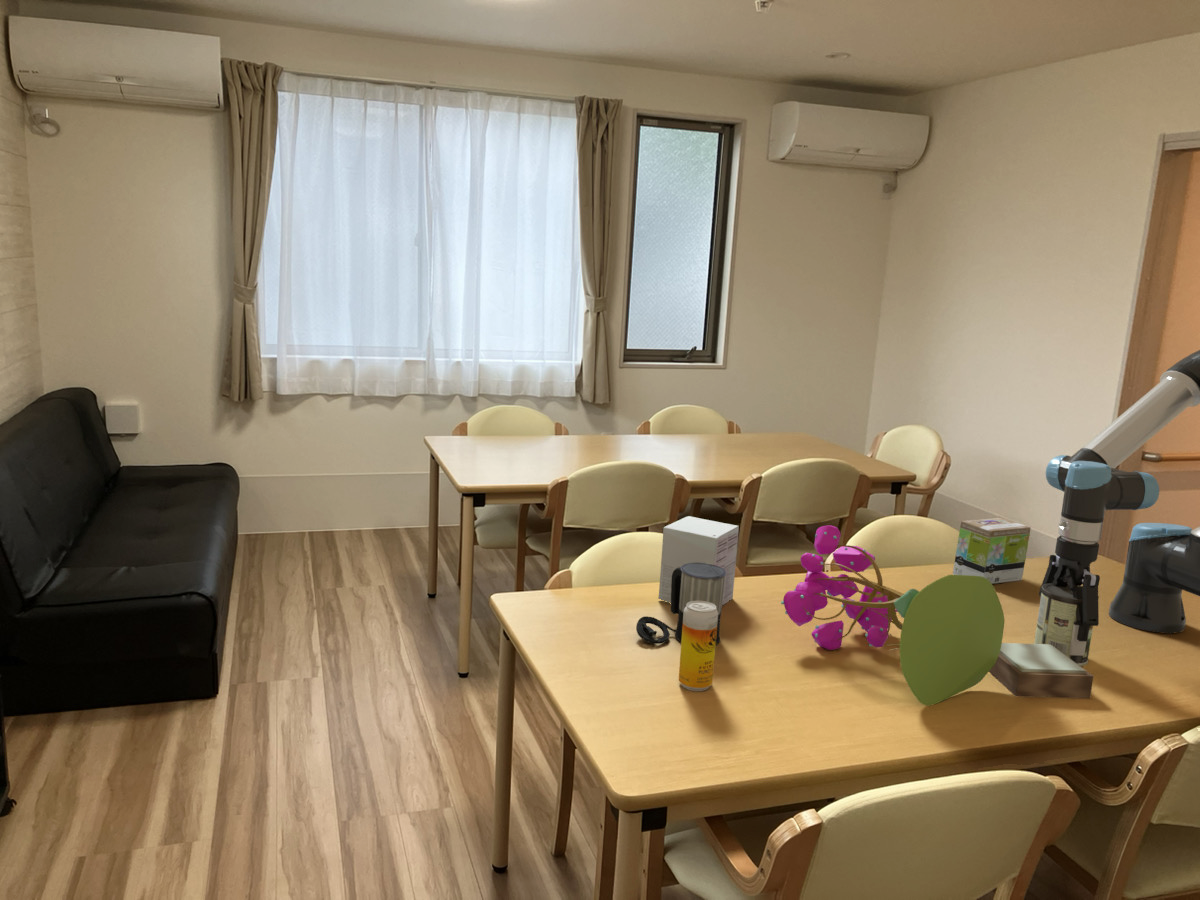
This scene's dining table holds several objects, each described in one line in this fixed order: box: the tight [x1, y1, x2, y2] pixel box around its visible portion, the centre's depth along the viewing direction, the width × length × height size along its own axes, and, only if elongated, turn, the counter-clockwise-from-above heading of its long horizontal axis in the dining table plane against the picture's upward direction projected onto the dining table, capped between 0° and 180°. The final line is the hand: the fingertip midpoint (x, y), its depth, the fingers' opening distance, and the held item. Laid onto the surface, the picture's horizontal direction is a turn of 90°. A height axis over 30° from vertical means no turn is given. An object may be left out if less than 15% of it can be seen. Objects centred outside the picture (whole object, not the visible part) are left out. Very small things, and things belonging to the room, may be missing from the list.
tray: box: [988, 642, 1095, 700], centre depth 172 cm, size 14×14×5 cm
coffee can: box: [1033, 583, 1100, 667], centre depth 184 cm, size 10×10×14 cm
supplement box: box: [657, 515, 740, 606], centre depth 205 cm, size 13×13×18 cm
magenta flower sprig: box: [780, 524, 1005, 706], centre depth 178 cm, size 30×28×35 cm
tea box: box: [952, 517, 1032, 585], centre depth 233 cm, size 15×10×15 cm
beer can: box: [678, 601, 718, 692], centre depth 161 cm, size 6×6×15 cm
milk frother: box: [635, 562, 726, 645], centre depth 182 cm, size 14×16×15 cm
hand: (1061, 643), depth 185 cm, fingers closed on coffee can, 10 cm apart
